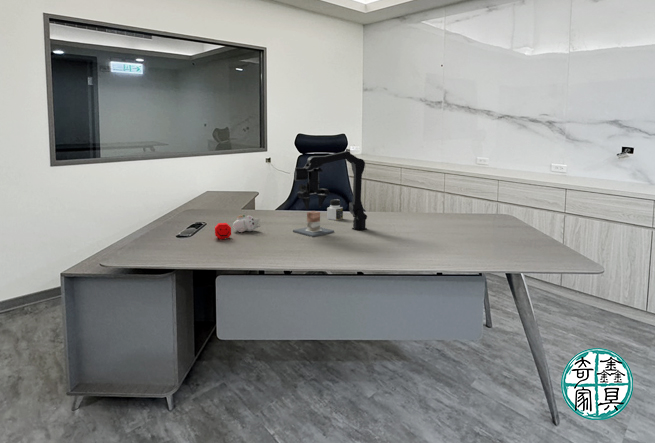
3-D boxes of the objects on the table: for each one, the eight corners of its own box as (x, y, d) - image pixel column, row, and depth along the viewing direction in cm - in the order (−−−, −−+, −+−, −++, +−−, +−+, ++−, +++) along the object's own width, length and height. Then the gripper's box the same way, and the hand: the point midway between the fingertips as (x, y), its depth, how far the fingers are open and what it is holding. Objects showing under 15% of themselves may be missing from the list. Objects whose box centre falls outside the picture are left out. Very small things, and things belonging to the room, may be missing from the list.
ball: (215, 240, 252) (215, 225, 250) (214, 236, 259) (214, 222, 258) (231, 239, 254) (231, 225, 252) (230, 235, 261) (229, 221, 260)
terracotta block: (320, 221, 270) (320, 212, 269) (313, 222, 267) (313, 213, 266) (313, 219, 274) (313, 210, 273) (307, 221, 270) (307, 212, 269)
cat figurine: (230, 215, 269) (258, 211, 270) (232, 219, 276) (259, 216, 278) (232, 231, 266) (260, 227, 267) (234, 236, 273) (261, 232, 275)
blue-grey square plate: (334, 232, 271) (334, 230, 271) (312, 237, 260) (312, 234, 260) (314, 227, 282) (314, 225, 282) (292, 231, 272) (292, 229, 271)
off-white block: (320, 230, 271) (320, 221, 270) (313, 231, 268) (313, 222, 267) (313, 228, 275) (313, 219, 274) (307, 230, 271) (307, 221, 270)
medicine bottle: (336, 220, 302) (336, 201, 300) (326, 218, 306) (327, 199, 304) (343, 218, 308) (343, 199, 305) (333, 217, 312) (333, 198, 309)
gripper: (316, 177, 277) (316, 204, 281) (290, 180, 265) (290, 208, 268) (330, 179, 270) (329, 207, 273) (304, 182, 257) (304, 211, 260)
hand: (313, 208), depth 269 cm, fingers open, 9 cm apart
